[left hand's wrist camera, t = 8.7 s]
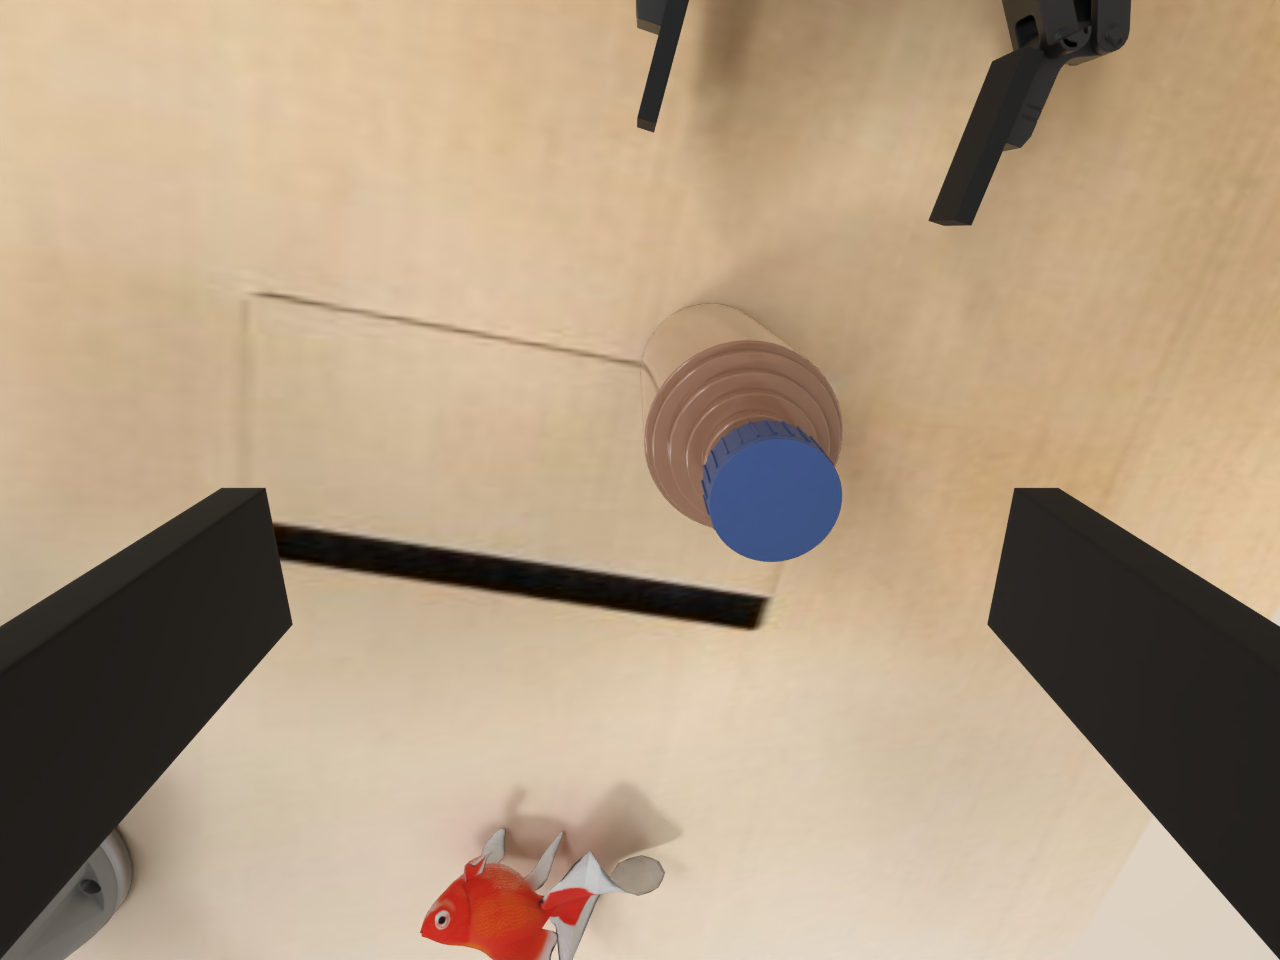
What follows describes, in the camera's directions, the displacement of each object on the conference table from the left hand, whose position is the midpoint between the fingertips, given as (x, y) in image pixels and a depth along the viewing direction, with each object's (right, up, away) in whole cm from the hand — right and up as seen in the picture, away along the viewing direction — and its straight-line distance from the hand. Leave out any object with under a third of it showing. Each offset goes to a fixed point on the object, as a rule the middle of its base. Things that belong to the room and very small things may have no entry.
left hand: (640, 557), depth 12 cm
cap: (+4, +1, +8) cm, 9 cm away
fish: (-6, -25, +38) cm, 46 cm away
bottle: (+4, +7, +26) cm, 28 cm away
